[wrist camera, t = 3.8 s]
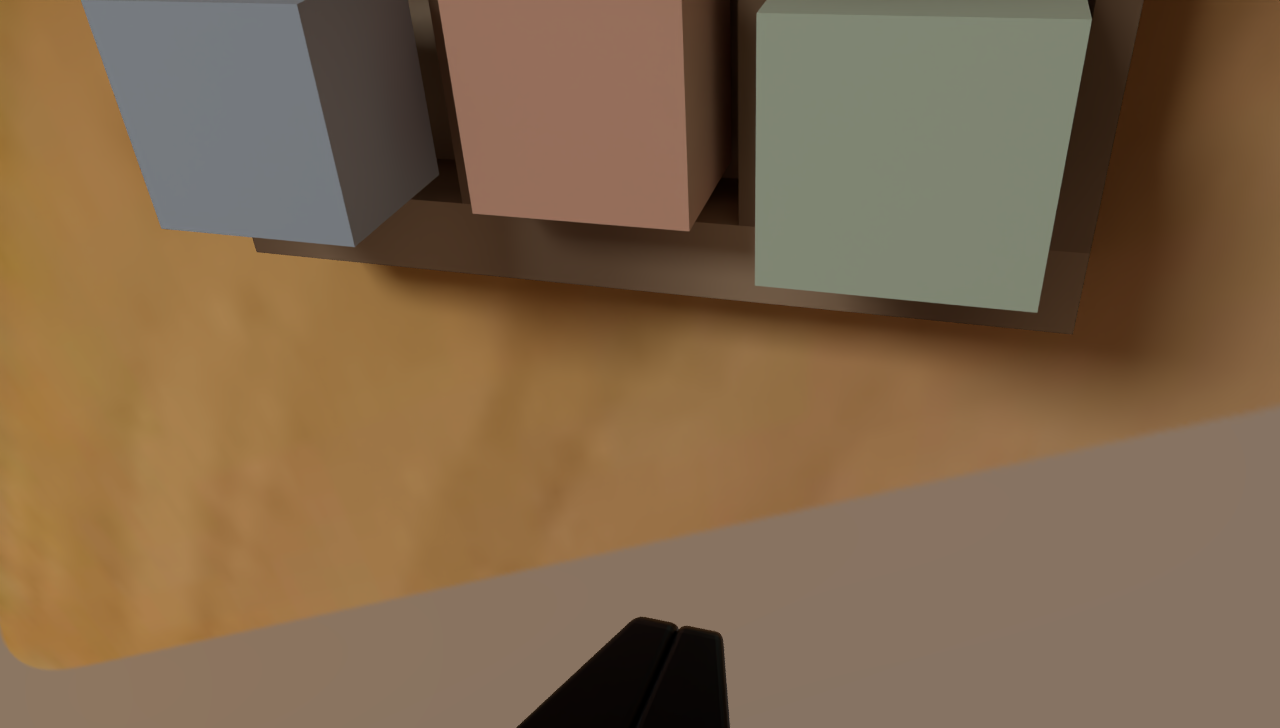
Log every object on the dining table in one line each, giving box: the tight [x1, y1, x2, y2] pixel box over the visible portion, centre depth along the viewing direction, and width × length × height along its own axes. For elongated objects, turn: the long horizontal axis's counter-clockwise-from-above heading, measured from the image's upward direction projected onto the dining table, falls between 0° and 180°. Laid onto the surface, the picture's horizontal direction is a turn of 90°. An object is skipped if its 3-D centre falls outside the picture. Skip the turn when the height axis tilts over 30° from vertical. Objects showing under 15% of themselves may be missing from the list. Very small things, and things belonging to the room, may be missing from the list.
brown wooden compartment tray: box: [252, 0, 1144, 334], centre depth 18 cm, size 16×8×2 cm, turn 94°
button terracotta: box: [438, 0, 731, 231], centre depth 17 cm, size 4×4×3 cm
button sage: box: [755, 0, 1092, 313], centre depth 14 cm, size 4×4×3 cm
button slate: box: [81, 0, 439, 247], centre depth 17 cm, size 4×4×3 cm
